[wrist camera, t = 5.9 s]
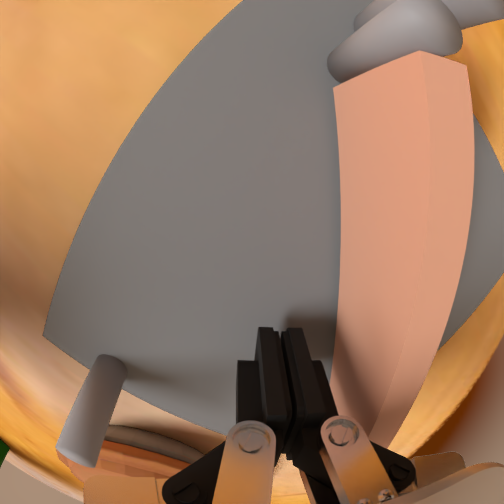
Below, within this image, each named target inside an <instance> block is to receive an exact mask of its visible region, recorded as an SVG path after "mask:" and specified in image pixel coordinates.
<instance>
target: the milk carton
mask: <svg viewBox="0 0 504 504" xmlns="http://www.w3.org/2000/svg"><path fill="white" fill-rule="evenodd" d="M9 449H10V448H9V447H8V446H7V445H6V444H5V443H4V442H3V441H2V440H1V439H0V467H1V465H2V463H3V461H4V459H5V457H6V455H7V453H8V451H9Z"/></svg>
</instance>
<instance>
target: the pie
mask: <svg viewBox="0 0 504 504" xmlns="http://www.w3.org/2000/svg"><path fill="white" fill-rule="evenodd" d="M56 452H57V455H58V458H59V459H60V460H61V461H62V462H63V463H64V464H65V465H66V466H68V467H69V468H70V470H71V472H72V473H73V474H74V475H75V476H76V477H77V478H78V479H79V480H80V481H82V482H83V483H85V482H86V481H87V479H88V478H90V477H92V476H94V475H106V476H120V477H155V479H167V478H170V477H171V476H173V475H175V474H176V473H178V472H180V471H181V470H183V469H185V468H186V467H188V466H189V465H191V464H192V463H194V462H195V461H197V460H199V459H200V458H202V457H203V456H204V454H202V453H201V452H199V451H198V450H196V449H194V448H192V447H190V446H188V445H186V444H184V443H181V442H179V441H176V440H173V439H170V438H168V437H165V436H162V435H159V434H155V433H151V432H148V431H144V430H140V429H136V428H130V427H124V426H115V425H108V428H107V431H106V434H105V438H104V441H103V444H102V447H101V450H100V453H99V457H98V460H97V463H96V467H95V468H89V467H86V466H83V465H80V464H78V463H76V462H74V461H72V460H70V459H68V458H67V457H65V456H64V455H63V454H61V453H60V452H59V451H58V450H57V449H56Z"/></svg>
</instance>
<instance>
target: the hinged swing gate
mask: <svg viewBox="0 0 504 504" xmlns="http://www.w3.org/2000/svg"><path fill="white" fill-rule="evenodd" d="M395 1H397V0H243V1H242V2H240V3H239V4H238V5H237V6H236V7H235V8H234V9H233V10H231V11H230V12H229V13H228V14H227V15H226V16H225V17H224V18H223V19H222V20H221V21H220V22H219V23H218V24H217V25H216V26H215V27H214V28H213V29H212V30H211V31H210V32H209V33H208V34H207V35H206V36H205V37H204V38H203V39H202V40H201V41H200V42H199V43H198V44H197V45H196V46H195V47H194V49H193V50H192V51H191V52H190V53H189V54H188V55H187V56H186V58H185V59H184V60H183V61H182V62H181V63H180V64H179V66H178V67H177V68H176V69H175V70H174V72H173V73H172V74H171V75H170V77H169V78H168V79H167V80H166V82H165V83H164V84H163V85H162V87H161V88H160V89H159V91H158V92H157V93H156V95H155V96H154V97H153V99H152V100H151V101H150V103H149V104H148V106H147V107H146V108H145V110H144V111H143V113H142V114H141V116H140V117H139V118H138V120H137V121H136V123H135V124H134V126H133V127H132V129H131V131H130V132H129V134H128V135H127V137H126V138H125V140H124V142H123V143H122V145H121V146H120V148H119V150H118V151H117V153H116V155H115V156H114V158H113V160H112V162H111V163H110V165H109V167H108V169H107V171H106V172H105V174H104V176H103V178H102V180H101V182H100V184H99V185H98V187H97V189H96V191H95V193H94V195H93V197H92V199H91V201H90V203H89V205H88V208H87V210H86V212H85V214H84V216H83V218H82V221H81V223H80V225H79V227H78V230H77V232H76V234H75V237H74V239H73V242H72V244H71V247H70V249H69V252H68V254H67V257H66V260H65V262H64V265H63V268H62V271H61V274H60V276H59V279H58V282H57V286H56V289H55V292H54V295H53V298H52V302H51V305H50V309H49V312H48V316H47V320H46V324H45V328H44V332H43V336H44V337H45V338H46V339H48V340H49V341H50V342H51V343H53V344H54V345H55V346H57V347H58V348H59V349H61V350H62V351H63V352H65V353H66V354H68V355H69V356H70V357H72V358H73V359H75V360H76V361H78V362H79V363H81V364H82V365H84V366H85V367H87V368H88V369H90V372H89V374H88V376H87V378H86V380H85V382H84V384H83V386H82V388H81V390H80V392H79V394H78V396H77V398H76V400H75V403H74V405H73V407H72V409H71V411H70V413H69V416H68V418H67V420H66V423H65V425H64V427H63V430H62V432H61V434H60V437H59V439H58V442H57V444H56V449H57V450H58V451H59V452H60V453H61V454H63V455H64V456H65V457H67V458H68V459H70V460H72V461H74V462H76V463H78V464H80V465H83V466H86V467H89V468H95V467H96V463H97V460H98V457H99V453H100V450H101V447H102V444H103V441H104V438H105V434H106V431H107V428H108V425H109V422H110V420H111V417H112V414H113V411H114V408H115V405H116V402H117V400H118V397H119V394H120V391H121V389H123V390H125V391H127V392H128V393H130V394H132V395H134V396H136V397H138V398H140V399H142V400H143V401H145V402H147V403H149V404H151V405H153V406H156V407H158V408H160V409H162V410H164V411H166V412H168V413H171V414H173V415H175V416H177V417H180V418H182V419H184V420H187V421H189V422H191V423H194V424H196V425H199V426H202V427H204V428H207V429H209V430H212V431H215V432H218V433H220V434H223V435H226V436H227V434H228V432H229V430H230V429H231V428H232V427H233V426H234V425H236V373H237V360H252V361H254V357H255V349H256V341H257V332H258V327H273V329H274V331H279V336H281V332H282V331H286V329H287V328H288V327H289V328H302V329H303V332H304V336H305V339H306V342H307V346H308V349H309V353H310V356H311V360H321V361H322V364H323V366H324V369H325V373H326V376H327V379H328V382H329V385H330V379H331V371H332V363H333V354H334V345H335V335H336V324H337V311H338V297H339V278H340V249H341V195H340V166H339V148H338V134H337V122H336V111H335V101H334V92H333V88H334V87H336V86H338V85H340V84H341V83H339V82H338V81H337V80H335V79H334V78H333V77H332V75H331V74H330V72H329V70H328V68H327V58H328V56H329V54H330V53H331V52H332V51H333V50H334V49H335V48H336V47H338V46H339V45H340V44H341V43H342V42H344V41H345V40H346V39H347V38H348V37H350V36H351V35H352V34H353V33H354V32H356V31H357V30H358V29H359V28H361V27H362V26H363V25H364V24H366V23H367V22H368V21H370V20H371V19H372V18H373V17H375V16H376V15H377V14H379V13H380V12H381V11H383V10H384V9H386V8H387V7H388V6H390V5H391V4H392V3H394V2H395ZM441 1H442V2H443V3H444V4H445V5H446V6H447V7H448V8H449V9H450V11H451V12H452V13H453V15H454V16H455V18H456V19H457V21H458V23H459V26H460V28H461V30H462V29H466V28H469V27H473V26H476V25H480V24H484V23H488V22H492V21H496V20H501V19H504V0H441ZM473 123H474V185H473V199H472V209H471V218H470V226H469V232H468V239H467V245H466V250H465V256H464V261H463V265H462V270H461V274H460V279H459V283H458V287H457V291H456V294H455V298H454V302H453V305H452V308H451V312H450V315H449V318H448V321H447V324H446V327H445V330H444V333H443V336H442V339H441V341H440V344H439V347H438V349H437V351H438V350H439V349H440V348H441V347H442V346H443V345H444V344H445V343H446V342H447V341H448V340H449V339H450V338H451V337H452V336H453V335H454V333H455V332H456V331H457V330H458V329H459V328H460V327H461V326H462V325H463V324H464V322H465V321H466V320H467V319H468V318H469V317H470V316H471V314H472V313H473V312H474V311H475V310H476V308H477V307H478V306H479V305H480V304H481V302H482V301H483V300H484V299H485V297H486V296H487V295H488V293H489V292H490V291H491V289H492V288H493V287H494V285H495V284H496V283H497V281H498V280H499V279H500V277H501V276H502V274H503V273H504V172H503V170H502V168H501V166H500V163H499V161H498V159H497V157H496V155H495V153H494V151H493V149H492V147H491V145H490V143H489V141H488V139H487V137H486V135H485V133H484V131H483V130H482V128H481V126H480V124H479V122H478V121H477V119H476V117H475V116H474V114H473Z"/></svg>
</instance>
